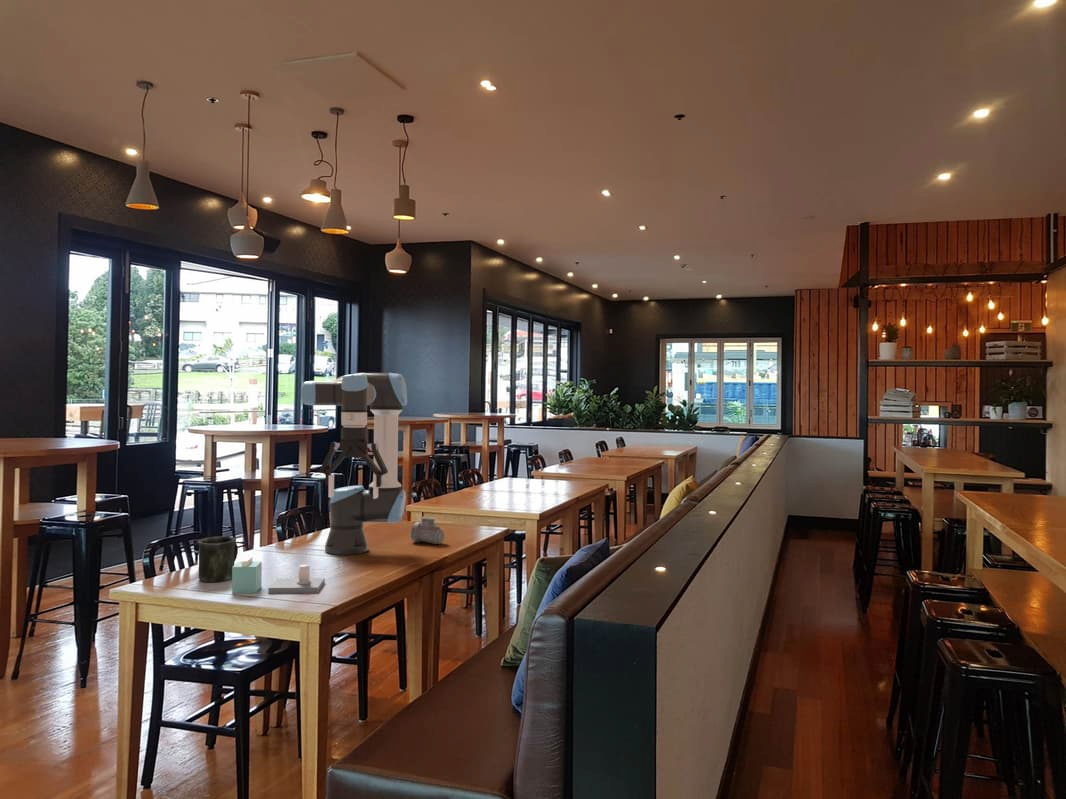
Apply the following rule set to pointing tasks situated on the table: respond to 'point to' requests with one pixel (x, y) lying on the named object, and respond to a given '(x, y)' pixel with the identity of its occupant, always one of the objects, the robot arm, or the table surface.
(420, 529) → the pipe fitting
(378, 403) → the robot arm
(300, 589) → the post board
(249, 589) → the teal cube with ledge
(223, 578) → the mug
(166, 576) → the table surface
